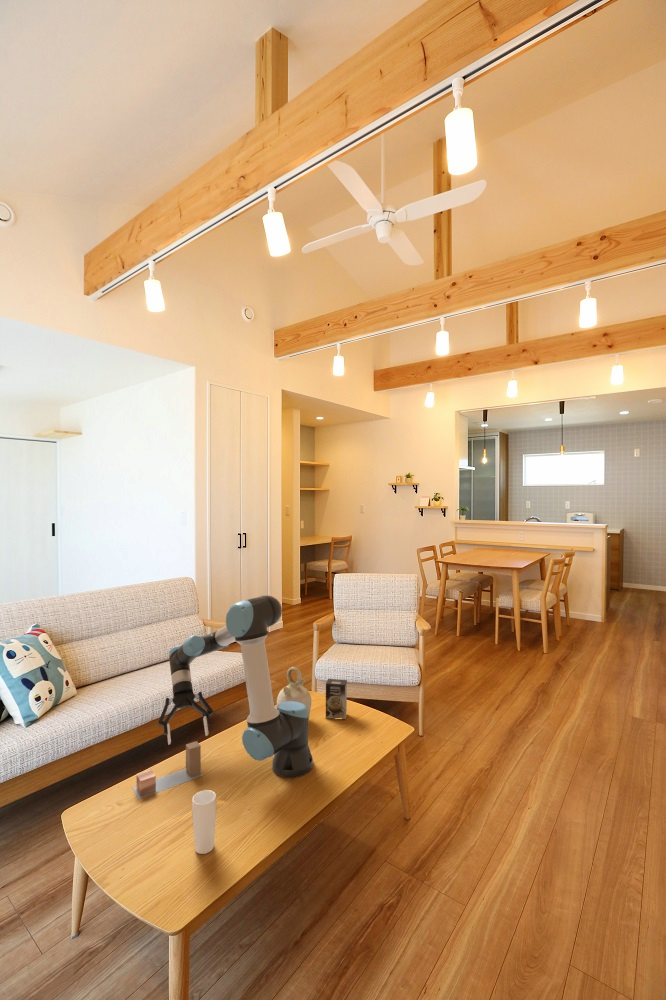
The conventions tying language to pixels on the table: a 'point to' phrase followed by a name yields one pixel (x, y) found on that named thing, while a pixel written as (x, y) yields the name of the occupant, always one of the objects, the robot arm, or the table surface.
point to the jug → (295, 691)
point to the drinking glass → (204, 820)
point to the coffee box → (336, 698)
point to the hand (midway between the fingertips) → (188, 738)
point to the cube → (146, 782)
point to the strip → (183, 775)
